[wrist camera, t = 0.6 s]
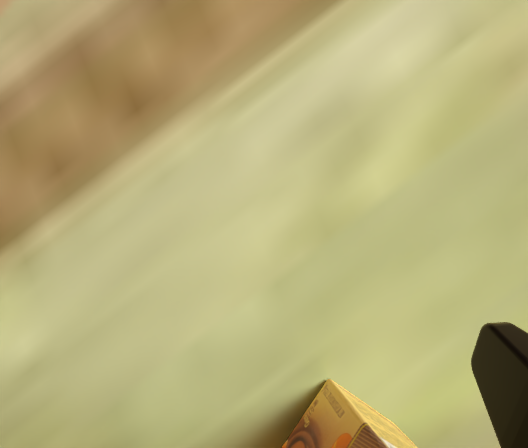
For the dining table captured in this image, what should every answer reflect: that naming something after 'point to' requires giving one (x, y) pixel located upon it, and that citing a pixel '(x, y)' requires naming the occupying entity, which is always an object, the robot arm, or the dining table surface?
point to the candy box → (344, 424)
